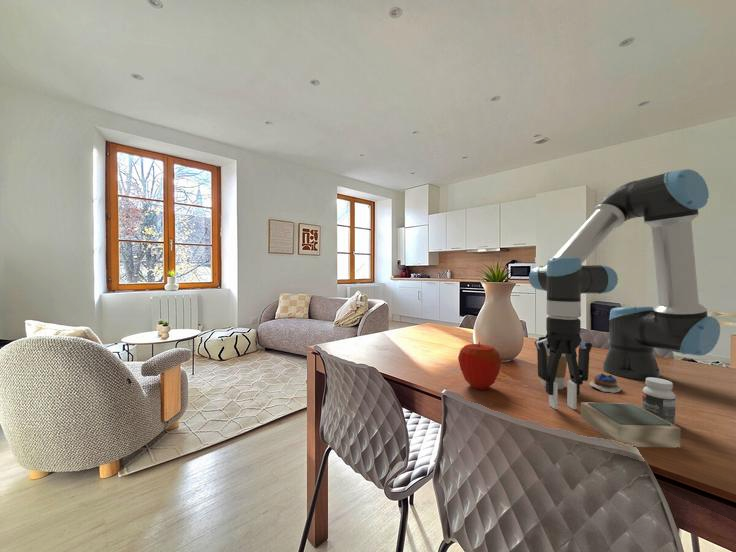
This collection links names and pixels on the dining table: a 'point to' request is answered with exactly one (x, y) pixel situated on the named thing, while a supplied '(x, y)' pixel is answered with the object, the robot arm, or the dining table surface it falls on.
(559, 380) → the coffee cup
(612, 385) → the dessert
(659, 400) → the pill bottle
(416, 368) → the dining table surface
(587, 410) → the tray
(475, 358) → the apple
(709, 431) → the dining table surface
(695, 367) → the dining table surface
